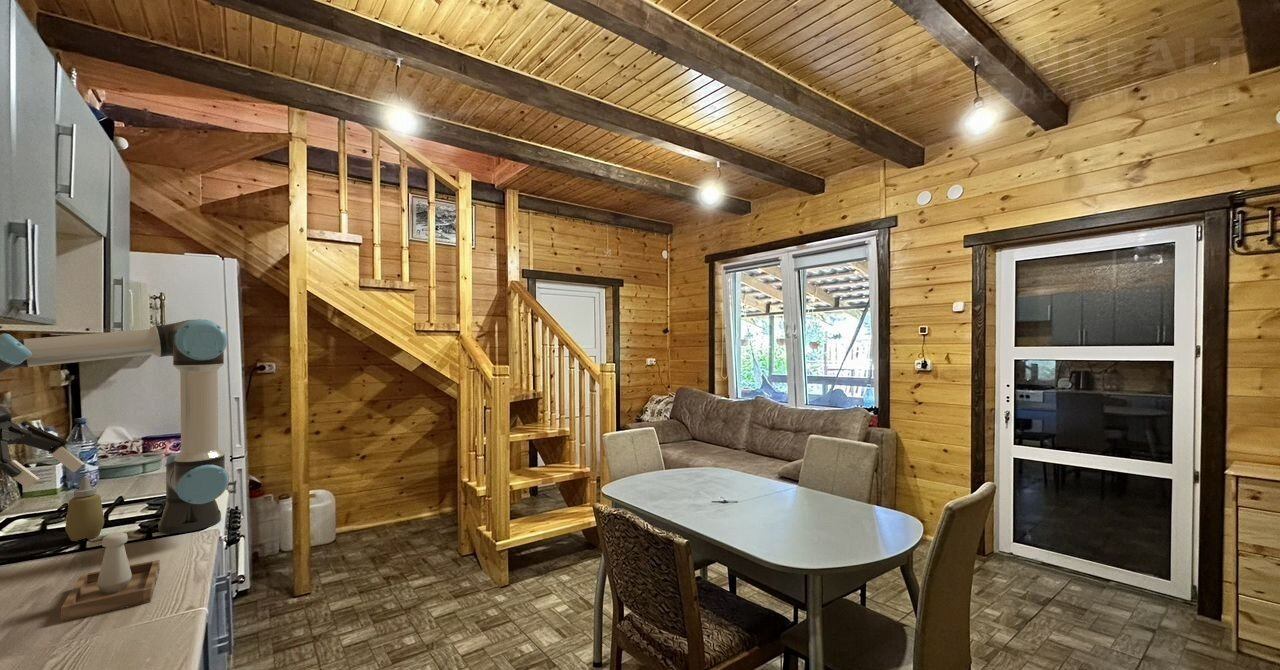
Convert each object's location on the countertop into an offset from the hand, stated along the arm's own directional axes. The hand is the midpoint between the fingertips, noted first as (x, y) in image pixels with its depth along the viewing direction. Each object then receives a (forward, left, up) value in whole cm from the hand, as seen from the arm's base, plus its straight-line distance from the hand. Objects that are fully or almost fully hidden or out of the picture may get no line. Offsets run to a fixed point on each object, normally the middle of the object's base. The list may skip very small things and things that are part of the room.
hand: (57, 475), depth 130 cm
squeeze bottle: (-24, -25, -26) cm, 44 cm away
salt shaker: (+3, +19, -25) cm, 32 cm away
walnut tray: (+3, +20, -26) cm, 33 cm away
